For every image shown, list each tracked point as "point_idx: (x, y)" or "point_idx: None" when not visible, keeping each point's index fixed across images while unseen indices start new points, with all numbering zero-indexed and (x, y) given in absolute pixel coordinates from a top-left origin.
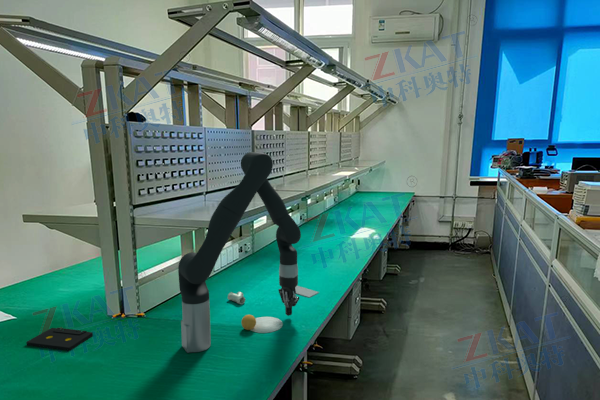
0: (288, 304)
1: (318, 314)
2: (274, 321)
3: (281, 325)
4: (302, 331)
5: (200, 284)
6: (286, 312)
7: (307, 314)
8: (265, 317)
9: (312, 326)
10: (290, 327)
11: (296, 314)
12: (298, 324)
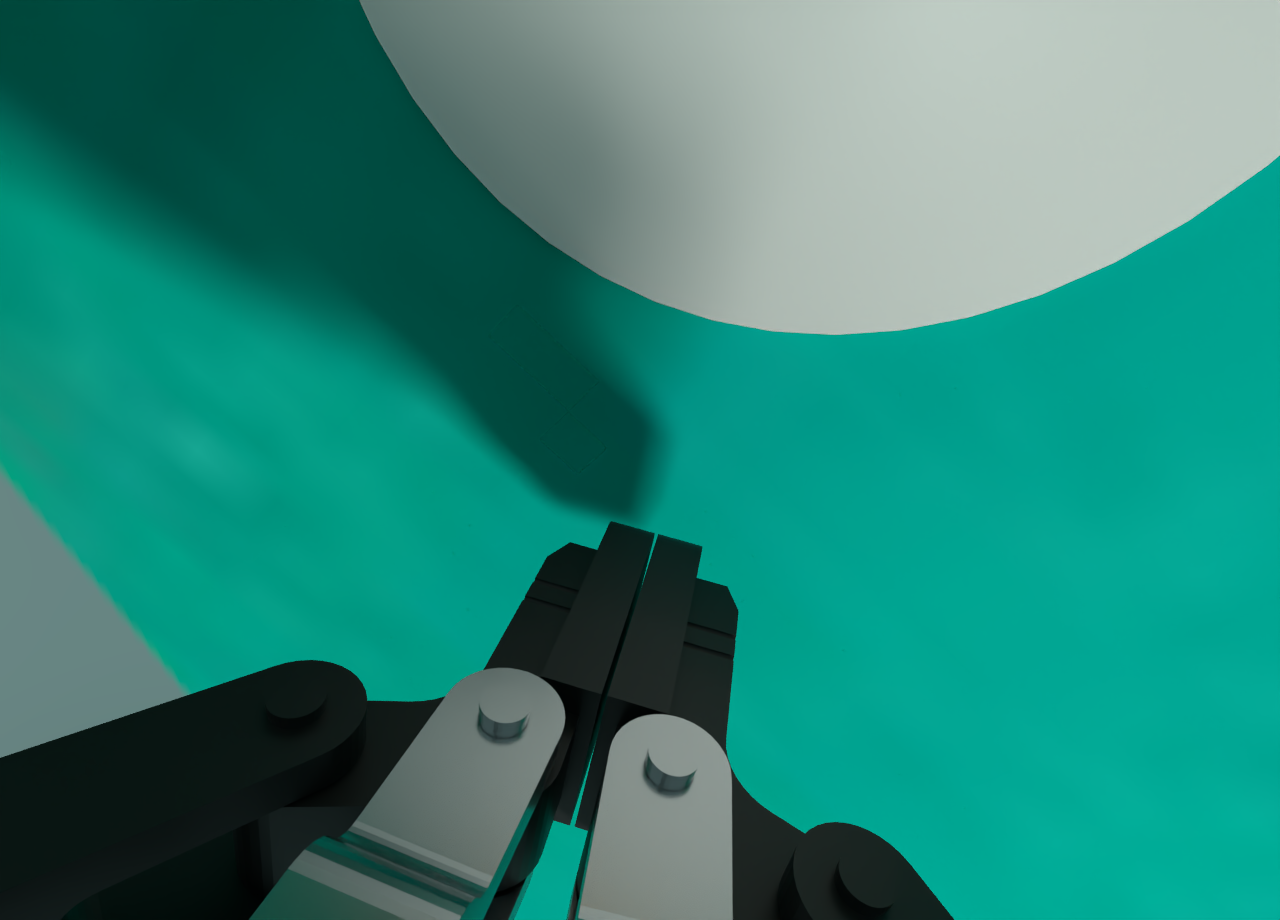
0: (396, 769)
1: None
2: (770, 136)
3: (440, 100)
4: (6, 265)
5: None
6: (636, 565)
7: None
8: (1227, 123)
9: (118, 537)
10: (270, 219)
11: None
12: (304, 443)
